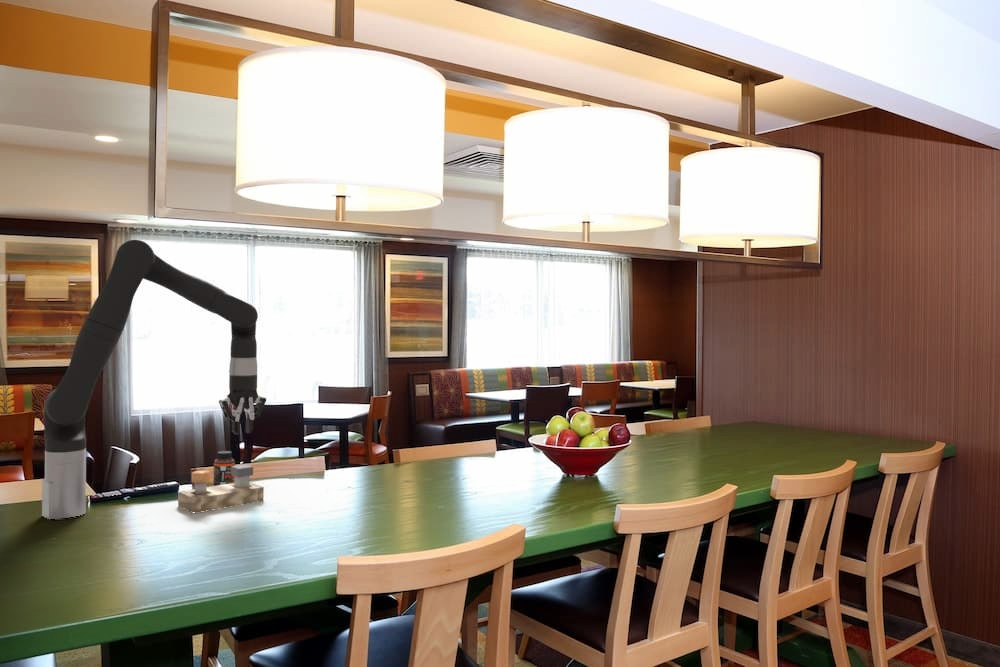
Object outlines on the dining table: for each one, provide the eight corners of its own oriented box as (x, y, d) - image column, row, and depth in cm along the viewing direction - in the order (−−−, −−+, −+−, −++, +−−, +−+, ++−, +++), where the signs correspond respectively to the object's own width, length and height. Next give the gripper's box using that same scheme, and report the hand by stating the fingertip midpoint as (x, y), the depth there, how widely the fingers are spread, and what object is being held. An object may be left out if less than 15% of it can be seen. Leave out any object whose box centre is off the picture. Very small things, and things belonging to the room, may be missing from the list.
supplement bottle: (227, 492, 221) (227, 454, 220) (209, 490, 222) (209, 453, 221) (238, 487, 226) (238, 450, 226) (220, 486, 228) (221, 449, 227)
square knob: (238, 491, 209) (238, 468, 209) (230, 488, 212) (231, 466, 212) (252, 488, 212) (253, 466, 212) (245, 486, 215) (245, 464, 215)
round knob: (196, 498, 200) (196, 475, 200) (188, 495, 203) (188, 472, 203) (212, 495, 204) (212, 472, 203) (205, 492, 207) (205, 469, 207)
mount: (194, 513, 197) (194, 498, 197) (178, 506, 204) (178, 491, 204) (263, 500, 212) (263, 486, 212) (246, 494, 219) (246, 480, 218)
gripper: (225, 375, 203) (225, 438, 204) (272, 373, 214) (271, 432, 214) (213, 373, 209) (212, 434, 209) (259, 371, 219) (258, 429, 219)
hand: (242, 433), depth 212 cm, fingers open, 3 cm apart
